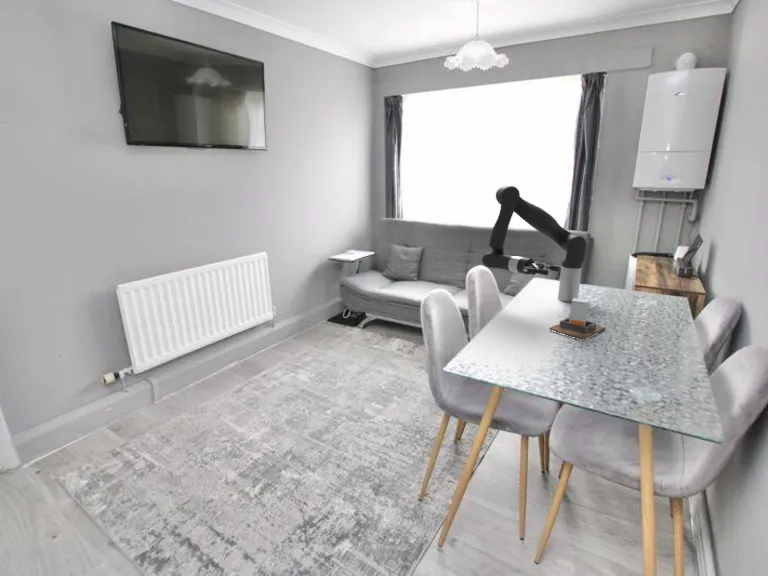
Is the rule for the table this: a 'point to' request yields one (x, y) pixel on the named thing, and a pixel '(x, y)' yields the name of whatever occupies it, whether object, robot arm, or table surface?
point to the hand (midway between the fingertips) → (553, 270)
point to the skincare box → (578, 312)
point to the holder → (577, 329)
